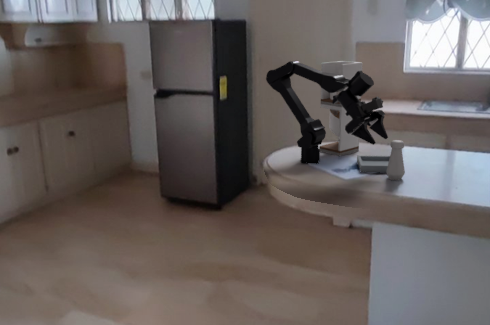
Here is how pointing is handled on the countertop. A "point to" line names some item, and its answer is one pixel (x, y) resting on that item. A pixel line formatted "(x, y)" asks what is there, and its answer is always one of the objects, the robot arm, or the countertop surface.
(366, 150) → the countertop surface
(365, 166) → the tray
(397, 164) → the salt shaker
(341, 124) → the display case
